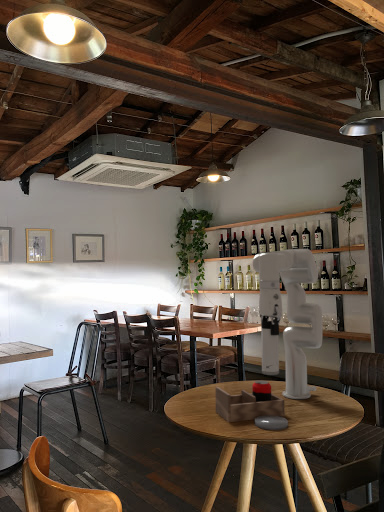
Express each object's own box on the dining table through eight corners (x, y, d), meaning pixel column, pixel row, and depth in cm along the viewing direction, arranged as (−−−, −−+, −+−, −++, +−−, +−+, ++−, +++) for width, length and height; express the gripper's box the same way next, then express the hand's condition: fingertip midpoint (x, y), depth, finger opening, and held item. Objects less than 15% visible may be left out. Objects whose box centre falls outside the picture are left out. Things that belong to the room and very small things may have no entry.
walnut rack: (268, 406, 182) (268, 382, 182) (284, 415, 170) (284, 389, 170) (215, 411, 174) (215, 386, 175) (228, 422, 162) (228, 395, 163)
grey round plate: (277, 417, 167) (277, 413, 167) (294, 427, 156) (294, 423, 156) (249, 421, 163) (249, 417, 163) (264, 431, 152) (264, 427, 152)
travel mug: (269, 376, 156) (268, 320, 157) (258, 372, 162) (257, 319, 163) (283, 374, 159) (282, 319, 160) (272, 370, 165) (271, 318, 166)
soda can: (248, 412, 174) (248, 382, 174) (259, 408, 179) (259, 379, 180) (264, 416, 168) (264, 385, 169) (275, 412, 174) (274, 382, 175)
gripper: (290, 286, 155) (291, 336, 154) (267, 285, 172) (267, 330, 171) (271, 286, 153) (272, 337, 152) (250, 285, 169) (250, 331, 168)
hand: (270, 333), depth 161 cm, fingers closed on travel mug, 6 cm apart
